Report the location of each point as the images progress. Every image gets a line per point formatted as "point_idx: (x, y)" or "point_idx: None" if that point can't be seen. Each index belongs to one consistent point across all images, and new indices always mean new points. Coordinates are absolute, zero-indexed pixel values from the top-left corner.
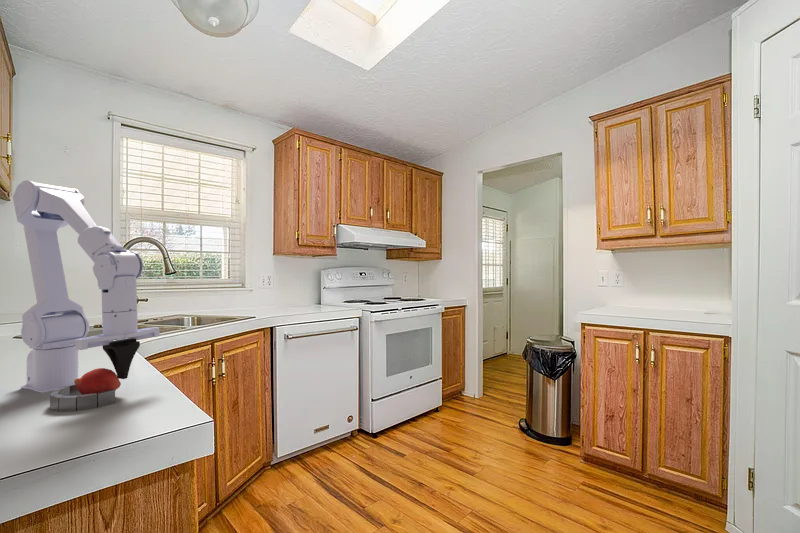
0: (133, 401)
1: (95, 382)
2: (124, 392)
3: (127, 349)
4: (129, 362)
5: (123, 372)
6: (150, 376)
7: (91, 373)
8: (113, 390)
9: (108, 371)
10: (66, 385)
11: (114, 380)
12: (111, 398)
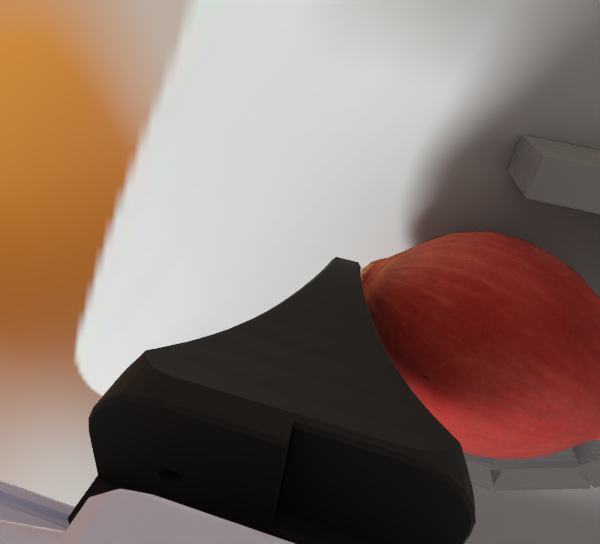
0: (465, 41)
1: (595, 312)
2: (331, 254)
3: (315, 393)
4: (303, 304)
5: (361, 282)
6: (111, 328)
7: (580, 407)
8: (556, 157)
9: (477, 339)
10: (488, 487)
11: (460, 256)
12: (555, 146)
